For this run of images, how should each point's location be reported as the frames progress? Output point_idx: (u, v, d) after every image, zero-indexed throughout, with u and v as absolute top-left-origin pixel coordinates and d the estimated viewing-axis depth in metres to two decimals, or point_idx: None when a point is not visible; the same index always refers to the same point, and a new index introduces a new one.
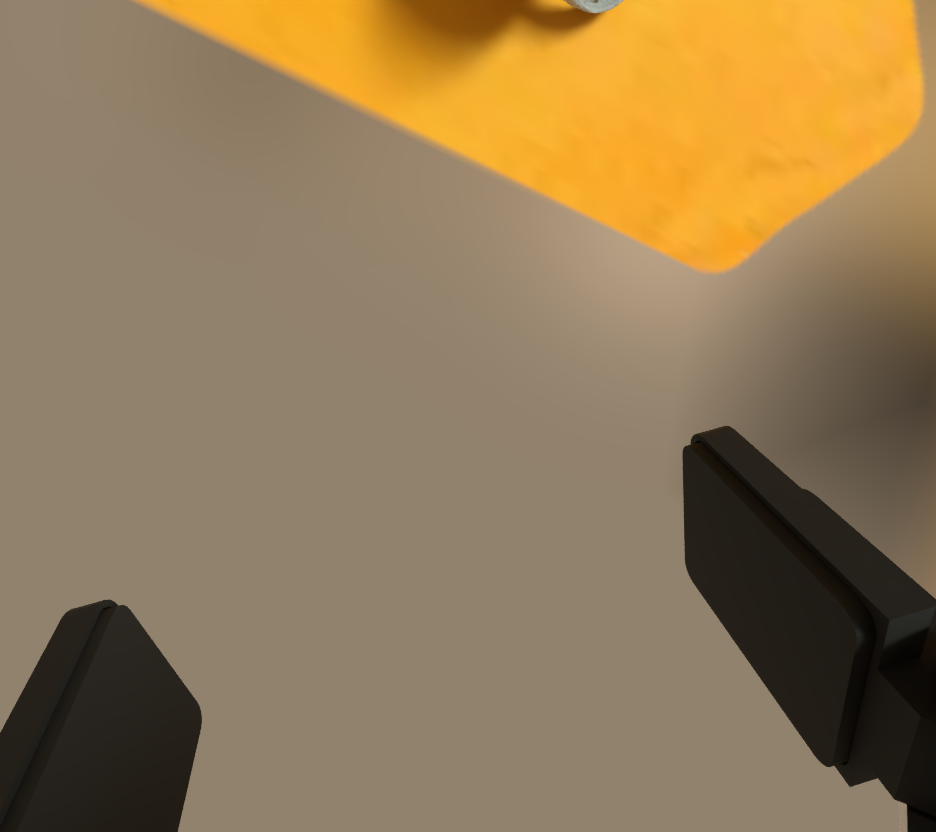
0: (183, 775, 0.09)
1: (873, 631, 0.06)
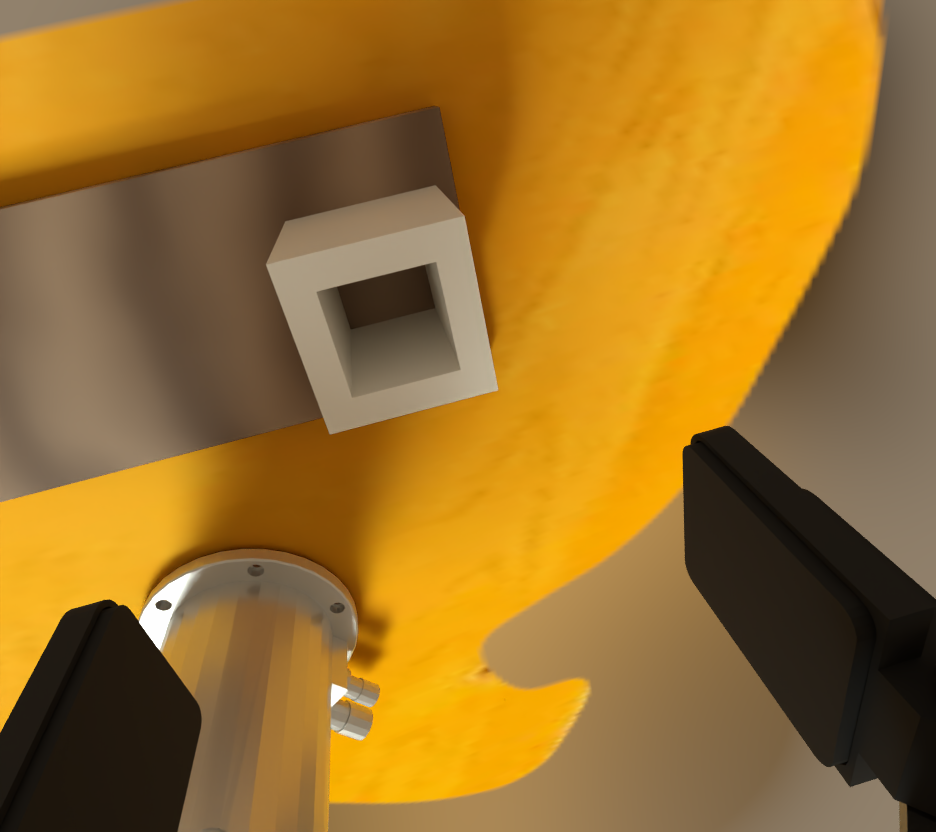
0: (183, 775, 0.09)
1: (873, 631, 0.06)
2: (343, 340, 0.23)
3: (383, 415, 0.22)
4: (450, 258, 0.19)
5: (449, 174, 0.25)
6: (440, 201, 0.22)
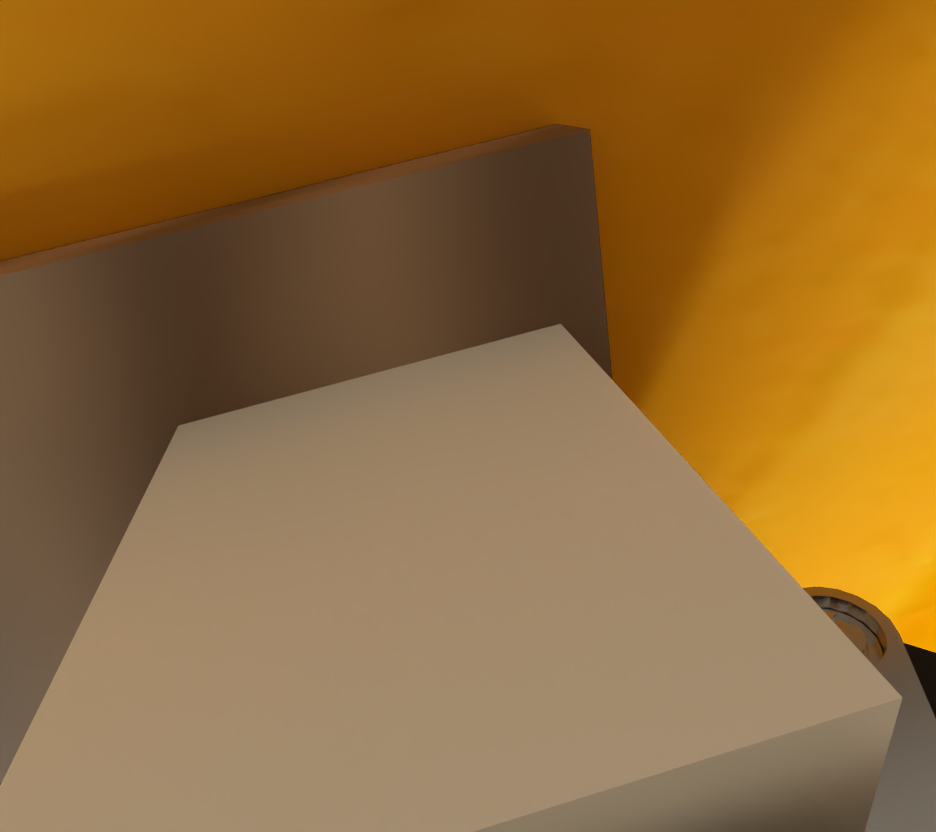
0: None
1: None
2: None
3: None
4: (783, 824, 0.04)
5: (597, 297, 0.10)
6: (638, 446, 0.07)
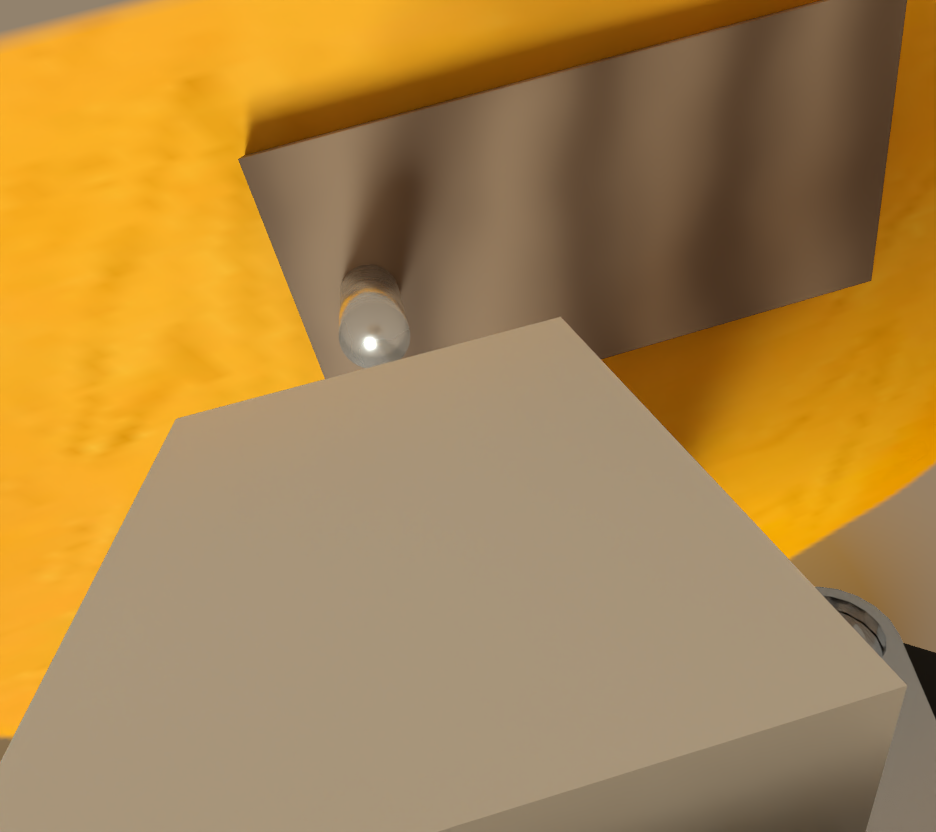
0: None
1: None
2: None
3: None
4: (784, 815, 0.04)
5: (896, 55, 0.24)
6: (639, 437, 0.07)
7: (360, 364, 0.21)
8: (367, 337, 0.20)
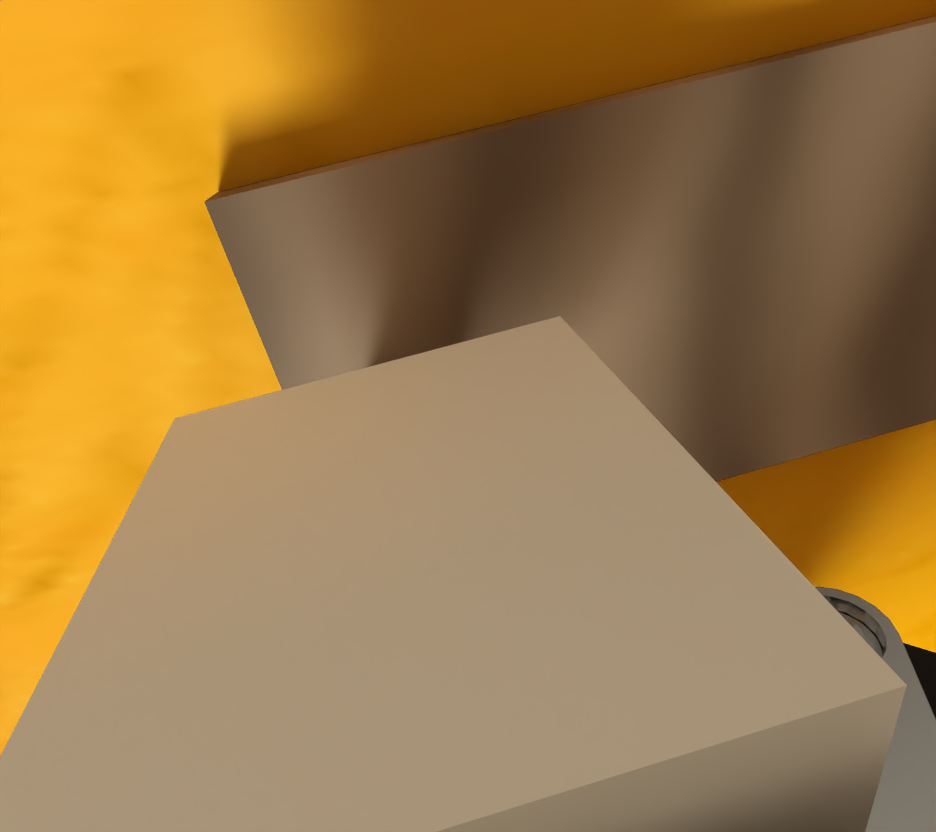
0: None
1: None
2: None
3: None
4: (785, 817, 0.04)
5: None
6: (638, 436, 0.07)
7: None
8: None
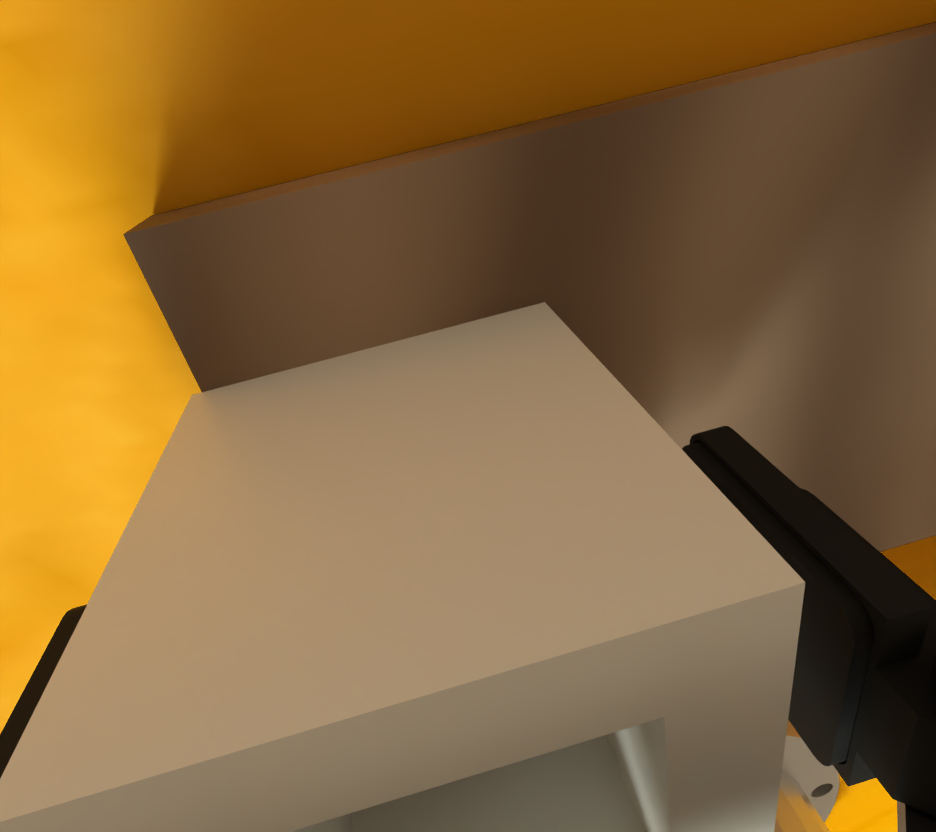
0: None
1: (871, 631, 0.06)
2: None
3: None
4: (715, 702, 0.05)
5: None
6: (606, 402, 0.07)
7: None
8: None
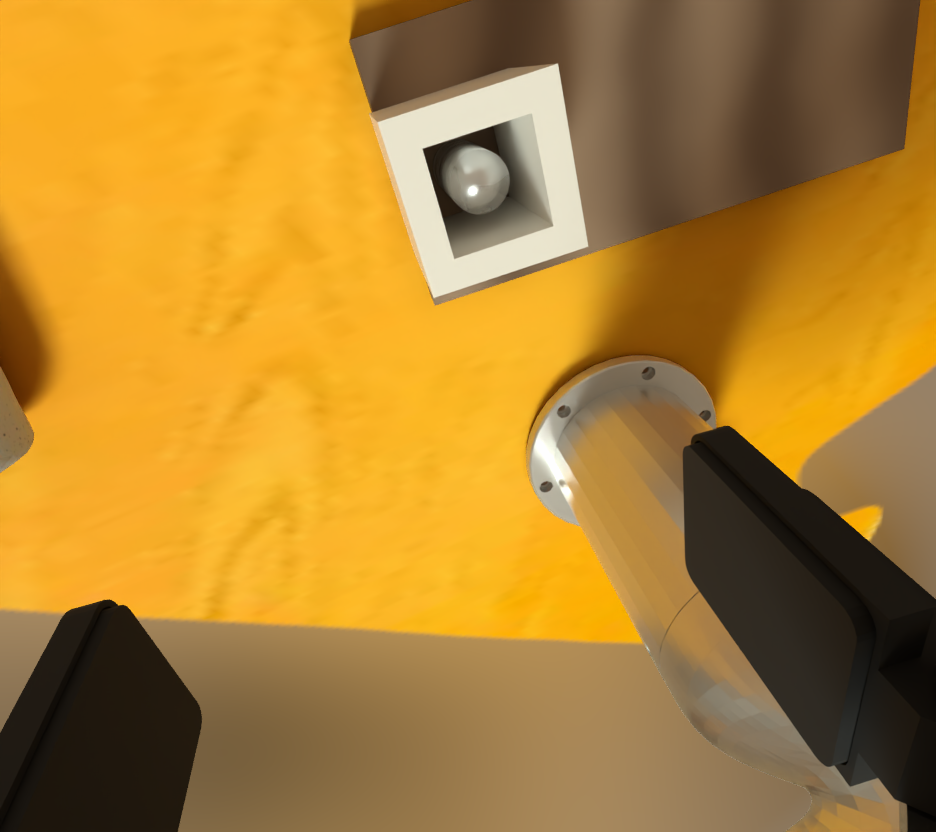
0: (183, 775, 0.09)
1: (873, 631, 0.06)
2: None
3: (482, 276, 0.23)
4: (544, 109, 0.21)
5: None
6: (523, 68, 0.23)
7: (466, 210, 0.24)
8: (474, 183, 0.23)
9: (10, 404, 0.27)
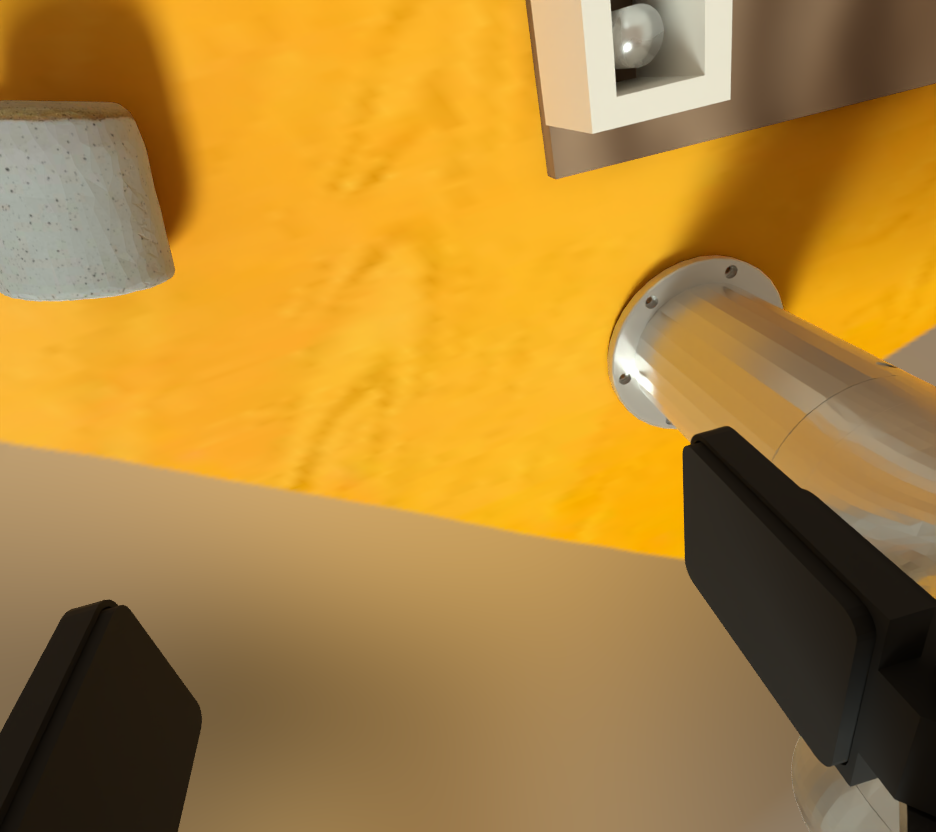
0: (183, 775, 0.09)
1: (873, 631, 0.06)
2: None
3: (637, 117, 0.26)
4: None
5: None
6: None
7: (622, 61, 0.27)
8: (633, 36, 0.26)
9: (163, 228, 0.29)
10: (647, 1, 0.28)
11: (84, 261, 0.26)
